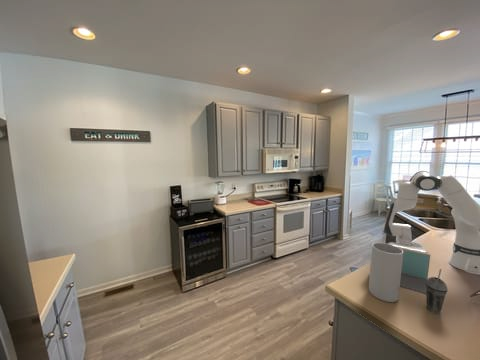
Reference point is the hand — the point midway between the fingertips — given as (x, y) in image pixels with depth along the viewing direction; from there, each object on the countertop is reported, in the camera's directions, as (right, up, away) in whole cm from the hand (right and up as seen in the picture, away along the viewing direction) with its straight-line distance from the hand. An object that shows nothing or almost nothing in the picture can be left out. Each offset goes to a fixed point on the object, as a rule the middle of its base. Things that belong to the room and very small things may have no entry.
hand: (408, 253), depth 128 cm
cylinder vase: (-36, -11, -27) cm, 46 cm away
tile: (-7, -9, -9) cm, 14 cm away
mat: (-12, -10, -17) cm, 23 cm away
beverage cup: (-20, -12, -37) cm, 44 cm away
